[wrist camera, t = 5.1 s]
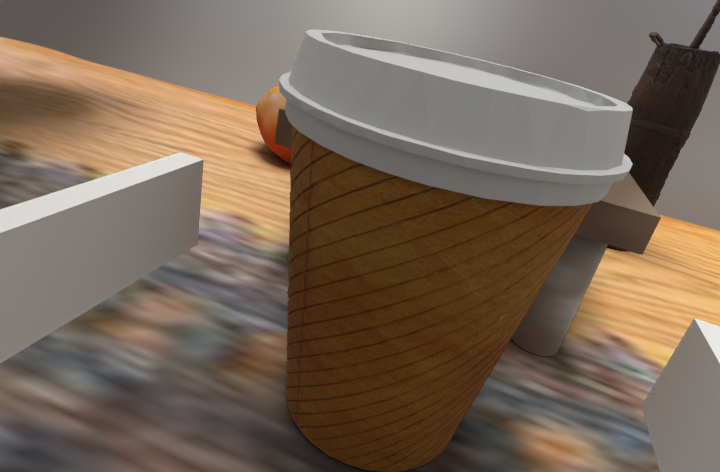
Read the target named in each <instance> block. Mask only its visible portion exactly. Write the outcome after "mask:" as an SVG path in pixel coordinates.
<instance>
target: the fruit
mask: <svg viewBox="0 0 720 472" xmlns="http://www.w3.org/2000/svg"><path fill="white" fill-rule="evenodd" d="M283 107H286V98H285V97H284V96H283V95H282V94H281V92H280V91H279V85H277V86H276V87H275V88H273V89H270V90H269V91H268V92H267V93H266V95H265V96H263V98H262V99H261V101H259V102H258V104H257V107H256V114H257V122H258V126H259V129H260V132H261V135H262V137H263V139H264V141H265V143H266V144H267V146H268V147H269V149H270V150H271V151H272V152H274V153H275V154H276V155H278V156H279V157H280V158H281V159H282V160H284V161H286V162H287V163H289V164H291V148H288V147H284V146H281V145H278V144H275V135H276V127H277V120H278V112H279V108H283Z"/></svg>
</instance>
